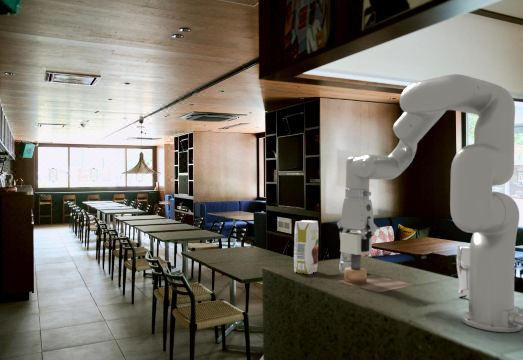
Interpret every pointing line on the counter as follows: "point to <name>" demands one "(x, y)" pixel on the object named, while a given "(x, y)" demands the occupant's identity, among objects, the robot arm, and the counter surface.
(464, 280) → the beer glass
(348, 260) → the plastic bottle
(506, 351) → the counter surface
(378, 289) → the post board
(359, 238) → the hollow square frame
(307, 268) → the juice carton
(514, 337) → the counter surface
